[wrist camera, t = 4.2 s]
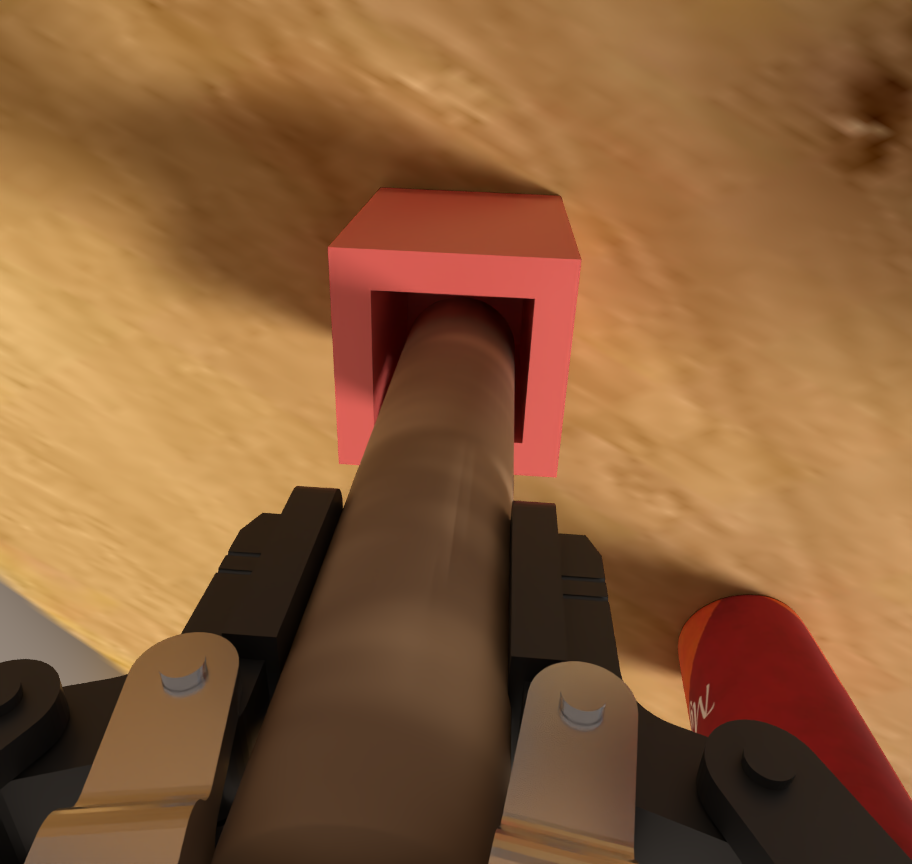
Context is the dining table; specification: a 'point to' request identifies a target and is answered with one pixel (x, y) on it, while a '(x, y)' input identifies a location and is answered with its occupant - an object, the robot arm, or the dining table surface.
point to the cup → (455, 275)
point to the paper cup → (786, 697)
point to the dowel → (402, 631)
